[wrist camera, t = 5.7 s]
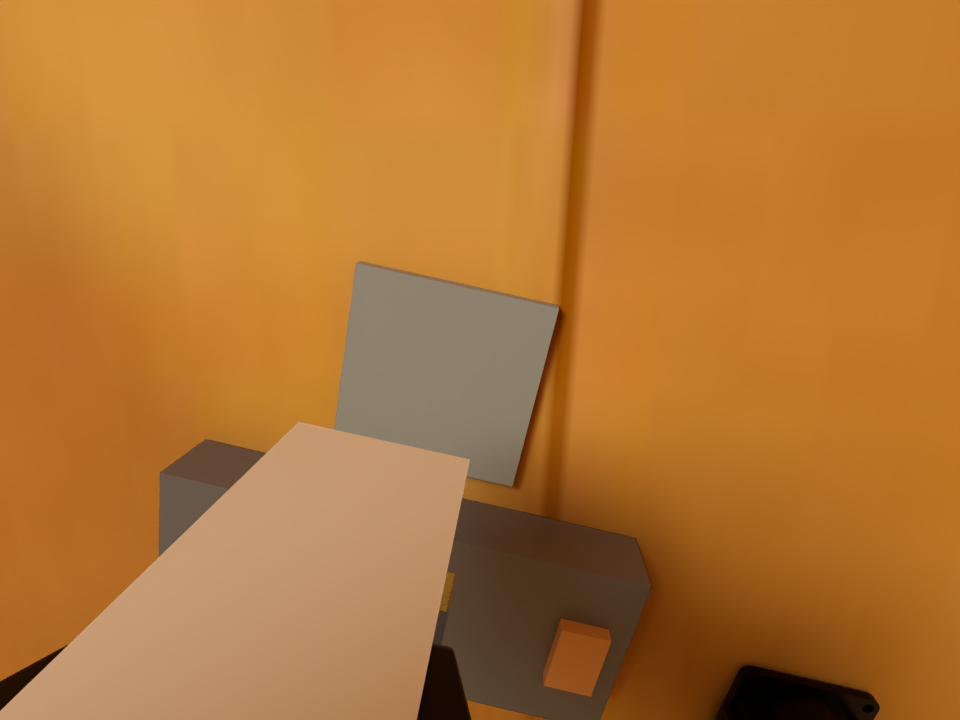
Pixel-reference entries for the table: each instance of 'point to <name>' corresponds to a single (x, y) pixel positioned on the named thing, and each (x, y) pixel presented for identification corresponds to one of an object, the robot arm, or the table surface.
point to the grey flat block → (491, 593)
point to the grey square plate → (443, 367)
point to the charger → (278, 597)
